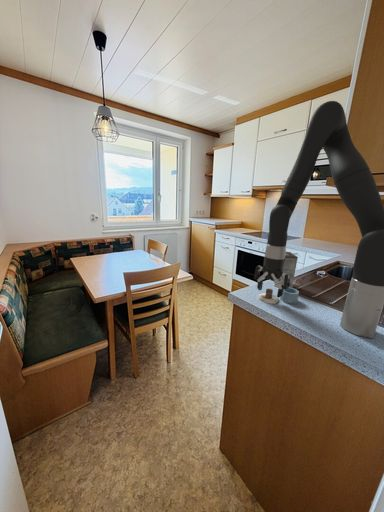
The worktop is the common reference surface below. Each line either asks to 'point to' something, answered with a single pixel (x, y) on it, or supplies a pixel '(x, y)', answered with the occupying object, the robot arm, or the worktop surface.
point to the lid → (268, 297)
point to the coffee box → (289, 267)
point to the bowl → (290, 295)
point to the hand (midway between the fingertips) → (269, 293)
